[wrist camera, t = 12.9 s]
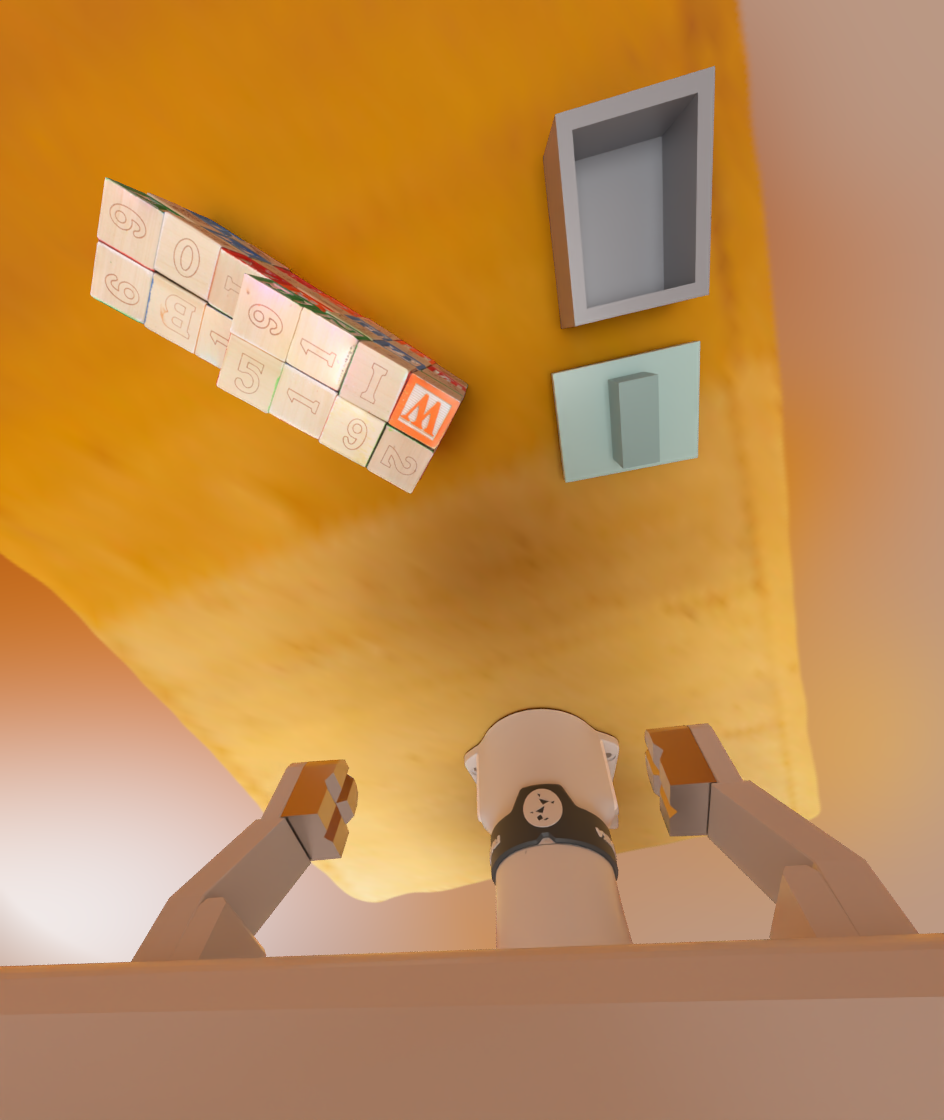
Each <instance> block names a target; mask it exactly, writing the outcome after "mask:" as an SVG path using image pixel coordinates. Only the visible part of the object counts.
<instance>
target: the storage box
mask: <svg viewBox="0 0 944 1120" xmlns="http://www.w3.org/2000/svg"><path fill="white" fill-rule="evenodd" d="M714 90H715V66H713V67H710V68H707V69H704V70H700V71H697V72H694V73H690V74H687V75H684V76H680V77H677V78H674V79H671V80H667V81H664V82H661V83H657V84H654V85H651V86H647V87H644V88H641V89H638V90H634V91H631V92H628V93H624V94H621V95H618V96H614V97H611V98H608V99H605V100H601V101H598V102H595V103H591V104H588V105H585V106H582V107H578V108H575V109H572V110H568V111H565V112H562V113H558V114H555V117H554V121H553V124H552V128H551V131H550V135H549V138H548V142H547V146H546V149H545V153H544V156H543V163H544V173H545V182H546V191H547V201H548V210H549V220H550V229H551V238H552V248H553V257H554V266H555V276H556V285H557V294H558V304H559V313H560V322H561V329H564V328H569V327H574V326H578V325H583V324H587V323H591V322H595V321H599V320H604V319H608V318H612V317H616V316H620V315H625V314H629V313H633V312H637V311H641V310H646V309H650V308H654V307H658V306H663V305H667V304H671V303H675V302H679V301H684V300H688V299H692V298H696V297H700V296H705V295H709V273H710V236H711V200H712V163H713V126H714Z"/></svg>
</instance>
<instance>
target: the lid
mask: <svg viewBox="0 0 944 1120" xmlns="http://www.w3.org/2000/svg"><path fill="white" fill-rule="evenodd" d="M551 376H552V384H553V393H554V401H555V409H556V417H557V426H558V434H559V442H560V450H561V459H562V467H563V475H564V480H565V482H566V483H567V482H572V481H578V480H583V479H588V478H593V477H599V476H604V475H609V474H614V473H619V472H625V471H630V470H635V469H640V468H646V467H651V466H656V465H661V464H666V463H672V462H677V461H682V460H687V459H693V458H698V426H699V377H700V341H692V342H688V343H683V344H679V345H675V346H670V347H666V348H661V349H657V350H652V351H648V352H644V353H639V354H635V355H630V356H626V357H621V358H617V359H612V360H608V361H604V362H599V363H595V364H590V365H586V366H581V367H577V368H573V369H568V370H564V371H559V372H555V373H551Z"/></svg>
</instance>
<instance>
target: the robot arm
mask: <svg viewBox="0 0 944 1120" xmlns="http://www.w3.org/2000/svg"><path fill="white" fill-rule="evenodd" d="M645 742H646V744H647V747H648V750H647V751H646V752H645V757H646V766H647V772H648V776H649V779H650V783H651V785H652V788H653V791H654V793H656V794H657V795H658V796H659V797H660V811H661V813H662V816H663V819H664V821H665V824H666V827H667V830H668V832H669V835H670V836H694V835H708V838H709V839H710V840H711V841H712V842H713V843H714V844H715V845H716V846H717V847H718V848H720V850H721V851H722V852H723V853H725V854H726V855H727V856H728V857H729V858H730V859H731V860H732V861H733V862H734V863H735V864H736V865H737V866H738V867H739V868H740V869H741V870H742V871H743V872H744V873H745V874H746V875H747V876H748V877H749V878H750V879H751V880H752V881H753V882H754V883H755V884H756V885H757V886H758V887H759V888H760V889H761V890H762V891H763V892H764V893H765V894H766V895H767V896H768V897H769V898H770V899H771V900H772V901H773V902H774V903H775V904H776V908H775V912H774V917H773V922H772V927H771V932H770V939H764V940H738V941H709V942H682V943H681V942H680V943H653V944H633V943H632V939H631V936H630V932H629V929H628V925H627V922H626V918H625V915H624V911H623V907H622V903H621V899H620V895H619V891H618V887H617V883H616V881H617V877H618V867H617V861H616V860H617V859H616V852H615V848H614V845H613V842H612V839H611V835H610V832H609V829H616V828H618V814H619V809H618V804H617V799H616V795H615V791H614V786H613V778H614V773H615V768H616V763H617V759H618V754H619V744H618V740H617V739H616V738H615V737H613V736H610V735H608V734H605V733H601V732H598V731H596V730H594V729H593V728H592V727H590V726H589V725H588V724H587V723H585V722H584V721H583V720H581V719H579V718H578V717H576V716H574V715H571V714H568V713H565V712H562V711H557V710H550V709H534V710H526V711H521V712H518V713H515V714H512V715H509V716H507V717H505V718H503V719H501V720H500V721H498V722H497V723H496V724H494V725H493V726H492V727H491V728H490V729H489V730H488V732H487V733H486V735H485V736H484V738H483V740H482V741H481V743H480V744H479V745H478V746H476V747H475V748H473V749H472V750H470V751H469V752H468V753H466V755H465V756H464V763H465V767H466V769H467V770H468V772H469V773H470V775H471V776H472V778H473V780H474V781H475V783H476V784H477V815H478V820H479V821H480V822H482V824H483V826H484V828H485V829H486V830H487V832H488V833H490V834H491V848H490V866H491V873H492V880H493V882H494V884H495V885H496V949H479V950H453V951H452V950H451V951H424V952H396V953H368V954H341V955H313V956H284V957H266V954H265V950H264V948H263V947H262V946H261V945H260V943H259V942H258V941H257V940H256V938H255V937H254V935H255V934H256V933H257V932H258V930H259V929H260V928H261V926H262V925H263V924H264V923H265V921H266V920H267V919H268V917H269V916H270V915H271V914H272V912H273V911H274V910H275V908H276V907H277V906H278V905H279V903H280V902H281V901H282V899H283V898H284V897H285V896H286V894H287V893H288V892H289V890H290V889H291V888H292V887H293V885H294V884H295V883H296V881H297V880H298V879H299V878H300V876H301V875H302V874H303V873H304V871H305V870H306V869H307V867H308V866H309V865H310V864H311V862H310V861H315V860H325V859H335V858H341V857H342V853H343V850H344V847H345V844H346V841H347V837H348V834H349V831H348V828H347V825H346V824H347V823H348V822H349V821H350V820H351V818H352V817H353V816H354V814H355V811H356V807H357V800H358V790H357V785H356V782H355V780H354V778H352V777H351V776H349V775H348V774H347V772H348V769H349V767H348V765H347V763H346V761H345V760H328V761H313V762H301V763H292V764H291V765H290V766H288V767H287V769H286V771H285V773H284V774H283V776H282V778H281V780H280V782H279V784H278V786H277V788H276V790H275V792H274V794H273V796H272V798H271V800H270V802H269V804H268V806H267V808H266V810H265V812H264V814H263V816H262V818H261V819H259V820H255V821H254V822H253V823H252V824H251V825H250V826H249V827H247V828H246V829H245V830H244V831H243V832H242V833H241V834H240V835H239V836H237V837H236V838H235V839H234V840H233V841H232V842H231V843H230V844H229V845H228V846H226V847H225V848H224V849H223V850H222V851H221V852H220V853H219V854H217V855H216V856H215V857H214V858H213V859H212V860H211V861H210V862H209V863H208V864H206V865H205V866H204V867H203V868H202V869H201V870H200V871H199V872H198V873H197V874H196V875H194V876H193V877H192V878H191V879H190V880H189V881H188V882H187V883H185V884H184V885H183V886H182V887H181V888H180V889H179V890H178V891H177V892H175V894H173V895H172V896H171V897H170V898H169V899H168V901H167V903H166V904H165V906H164V908H163V909H162V911H161V913H160V914H159V916H158V918H157V919H156V921H155V923H154V924H153V926H152V928H151V929H150V931H149V933H148V934H147V936H146V938H145V939H144V941H143V943H142V945H141V946H140V948H139V949H138V951H137V953H136V954H135V956H134V958H133V959H132V961H131V962H118V963H88V964H60V965H59V964H58V965H29V966H0V1120H944V933H931V934H930V933H929V934H919V933H918V932H917V930H916V929H915V928H914V927H913V925H912V924H911V922H910V921H909V919H908V918H907V917H906V915H905V914H904V913H903V911H902V910H901V908H900V907H899V906H898V904H897V903H896V902H895V900H894V899H893V897H892V896H891V895H890V894H889V892H888V891H887V889H886V888H885V886H884V885H883V884H882V882H881V881H880V880H879V878H878V877H877V876H876V874H875V873H874V871H873V870H872V869H871V867H870V866H869V865H868V863H867V862H866V860H864V859H863V858H862V857H860V856H859V855H857V854H856V853H854V852H853V851H851V850H850V849H848V848H847V847H846V846H844V845H842V844H841V843H840V842H838V841H837V840H835V839H834V838H832V837H831V836H829V835H828V834H826V833H825V832H824V831H822V830H821V829H819V828H818V827H816V826H815V825H814V824H812V823H811V822H809V821H808V820H806V819H805V818H803V817H802V816H800V815H799V814H798V813H796V812H795V811H793V810H792V809H790V808H789V807H787V806H786V805H784V804H783V803H782V802H780V801H779V800H777V799H776V798H774V797H773V796H771V795H770V794H768V793H767V792H766V791H764V790H763V789H761V788H760V787H758V786H757V785H755V784H754V783H752V782H751V781H743V780H742V778H741V777H740V775H739V773H738V771H737V770H736V768H735V766H734V765H733V763H732V761H731V760H730V758H729V756H728V754H727V753H726V751H725V749H724V748H723V746H722V744H721V742H720V741H719V739H718V737H717V736H716V734H715V732H714V730H713V729H712V727H711V726H710V725H709V724H696V725H687V726H685V725H683V726H674V727H665V728H656V729H647V730H646V731H645Z"/></svg>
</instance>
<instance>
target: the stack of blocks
mask: <svg viewBox="0 0 944 1120" xmlns="http://www.w3.org/2000/svg"><path fill="white" fill-rule="evenodd" d="M97 237H98V239H99V241H98V244H97V250H96V256H95V263H94V272H93V278H92V286H91V294H90V295H91V296H92V297H94V298H95V299H97V300H99V301H100V302H102V303H104V304H106V305H108V306H110V307H111V308H113V309H115V310H117V311H119V312H121V313H122V314H124V315H126V316H128V317H129V318H131V319H133V320H135V321H137V322H139V323H142V324H144V325H145V327H146V328H148V329H149V330H151V331H153V332H155V333H157V334H159V335H160V336H162V337H164V338H166V339H168V340H169V341H171V342H173V343H175V344H177V345H179V346H180V347H182V348H184V349H186V350H187V351H189V352H191V353H194V354H196V355H197V356H198V357H200V358H201V359H203V360H205V361H207V362H208V363H210V364H212V365H214V366H216V367H218V368H220V369H221V370H220V373H219V376H218V379H217V384H216V385H217V387H219V388H221V389H222V390H224V391H226V392H228V393H230V394H232V395H234V396H235V397H237V398H239V399H241V400H243V401H245V402H247V403H248V404H250V405H252V406H254V407H256V408H258V409H260V410H261V411H263V412H265V413H270V414H272V415H273V416H275V417H277V418H278V419H280V420H282V421H284V422H286V423H287V424H289V425H291V426H293V427H295V428H297V429H299V430H300V431H302V432H304V433H306V434H308V435H310V436H311V437H313V438H316V439H318V440H319V442H320V443H321V444H323V445H325V446H326V447H328V448H330V449H332V450H334V451H335V452H337V453H339V454H341V455H343V456H345V457H346V458H348V459H350V460H352V461H354V462H355V463H357V464H359V465H361V466H363V467H367V469H368V470H369V471H370V472H372V473H374V474H376V475H377V476H379V477H381V478H383V479H384V480H386V481H388V482H390V483H391V484H393V485H395V486H397V487H398V488H400V489H402V490H404V491H405V492H408V493H412V491H413V489H414V488H415V486H416V484H417V482H418V480H420V479H421V477H422V475H423V473H424V472H425V470H426V468H427V466H428V464H429V462H430V460H431V458H432V457H433V455H434V453H435V451H436V449H437V448H438V446H439V444H440V442H441V440H442V439H443V437H444V435H445V433H446V431H447V429H448V427H449V425H450V423H451V421H452V419H453V417H454V416H455V414H456V412H457V410H458V408H459V406H460V404H461V402H462V400H463V399H464V396H465V392H466V389H467V387H468V384H467V383H465V382H464V381H462V380H461V379H459V378H458V377H456V376H454V375H453V374H451V373H450V372H448V371H447V370H445V369H444V368H442V367H441V366H439V365H438V364H436V362H435V361H433V360H432V359H430V358H429V357H427V356H426V355H424V354H422V353H421V352H419V351H418V350H416V349H415V348H413V347H412V346H410V345H408V344H407V343H405V342H404V341H402V340H400V339H399V338H398V337H396V336H395V335H393V334H392V333H390V332H389V331H387V330H386V329H384V328H382V327H381V326H379V325H378V324H376V323H375V322H373V321H371V320H370V319H368V318H364V317H362V316H361V315H359V314H358V313H356V312H354V311H353V310H351V309H349V308H348V307H346V306H345V305H343V304H342V303H340V302H339V301H337V300H335V299H334V298H332V297H331V296H328V295H326V294H324V293H323V292H321V291H320V290H318V289H317V288H315V287H314V286H312V285H310V284H309V283H307V282H306V281H304V280H303V279H301V278H299V277H298V276H296V275H295V274H293V273H291V272H290V270H289V268H287V267H286V266H284V265H283V264H281V263H279V262H278V261H276V260H275V259H273V258H272V257H270V256H269V255H267V254H265V253H264V252H262V251H261V250H259V249H258V248H256V247H254V246H253V245H251V244H249V243H247V242H245V241H244V240H242V239H241V238H239V237H237V236H236V235H234V234H233V233H231V232H230V231H228V230H226V229H225V228H223V227H222V226H220V225H218V224H217V223H215V222H214V221H212V220H210V219H208V218H206V217H204V216H201V215H199V214H197V213H194V212H192V211H190V210H188V209H185V208H182V207H181V206H179V205H177V204H174V203H172V202H170V201H167V200H165V199H163V198H160V197H158V196H156V195H153V194H151V193H147V194H145V193H143V192H140V191H138V190H136V189H133V188H131V187H128V186H126V185H124V184H122V183H120V182H117V181H114V180H112V179H110V178H106V177H105V183H104V190H103V197H102V205H101V212H100V219H99V225H98V232H97Z"/></svg>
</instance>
